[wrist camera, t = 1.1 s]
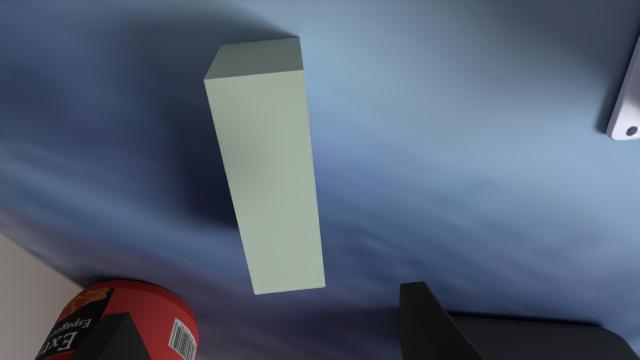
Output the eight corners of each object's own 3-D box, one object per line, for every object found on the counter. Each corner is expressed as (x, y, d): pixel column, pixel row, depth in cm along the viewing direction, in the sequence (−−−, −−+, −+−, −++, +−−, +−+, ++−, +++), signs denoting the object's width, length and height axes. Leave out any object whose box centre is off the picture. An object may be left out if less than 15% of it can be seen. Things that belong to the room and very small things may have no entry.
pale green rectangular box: (299, 35, 17) (303, 69, 13) (318, 224, 22) (325, 286, 18) (221, 43, 17) (203, 79, 13) (259, 230, 22) (254, 294, 18)
